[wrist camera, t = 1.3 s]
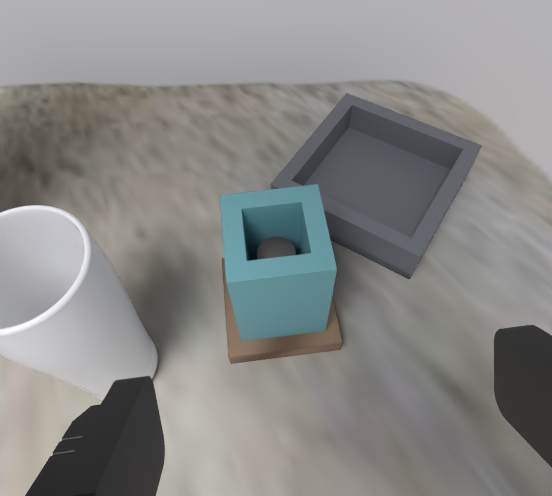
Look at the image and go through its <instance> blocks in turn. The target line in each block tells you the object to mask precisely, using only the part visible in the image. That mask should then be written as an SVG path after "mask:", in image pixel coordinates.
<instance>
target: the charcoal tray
mask: <svg viewBox="0 0 552 496" xmlns="http://www.w3.org/2000/svg"><path fill="white" fill-rule="evenodd" d="M481 147H482V146H481V145H479V144H476V143H474V142H471V141H469V140H466V139H463V138H461V137H458V136H456V135H453V134H451V133H448V132H445V131H443V130H440V129H438V128H435V127H433V126H430V125H427V124H425V123H422V122H420V121H417V120H414V119H412V118H409V117H407V116H404V115H402V114H399V113H396V112H394V111H391V110H389V109H386V108H384V107H381V106H378V105H376V104H373V103H371V102H368V101H366V100H363V99H360V98H358V97H355V96H353V95H350V94H348V93H346V95H345V96H344V97H343V98H342V99H341V101H340V102H339V103H338V104H337V106H336V107H335V108H334V109H333V110H332V112H331V113H330V114H329V115H328V116H327V118H326V119H325V120H324V121H323V122H322V124H321V125H320V126H319V127H318V128H317V130H316V131H315V132H314V133H313V134H312V136H311V137H310V138H309V139H308V140H307V142H306V143H305V144H304V145H303V146H302V148H301V149H300V150H299V151H298V152H297V154H296V155H295V156H294V157H293V158H292V160H291V161H290V162H289V163H288V164H287V166H286V167H285V168H284V169H283V170H282V172H281V173H280V174H279V175H278V176H277V178H276V179H275V180H274V181H273V182H272V184H271V189H280V188H289V187H298V186H307V185H315V184H318V187H319V191H320V196H321V200H322V205H323V209H324V213H325V218H326V222H327V227H328V231H329V236H330V239H331V240H333V241H335V242H337V243H339V244H341V245H343V246H345V247H347V248H349V249H351V250H353V251H355V252H357V253H359V254H361V255H362V256H364V257H366V258H368V259H370V260H372V261H374V262H376V263H378V264H380V265H382V266H384V267H386V268H388V269H390V270H392V271H394V272H396V273H398V274H400V275H402V276H404V277H406V278H408V279H410V277H411V276H412V274H413V272H414V270H415V268H416V266H417V265H418V263H419V261H420V259H421V257H422V256H423V254H424V252H425V250H426V248H427V247H428V245H429V243H430V241H431V239H432V237H433V236H434V234H435V232H436V230H437V228H438V227H439V225H440V223H441V221H442V219H443V218H444V216H445V214H446V212H447V210H448V208H449V207H450V205H451V203H452V201H453V199H454V198H455V196H456V194H457V192H458V190H459V189H460V187H461V185H462V183H463V181H464V179H465V178H466V176H467V174H468V172H469V170H470V168H471V166H472V164H473V162H474V160H475V158H476V156H477V155H478V153H479V151H480V149H481Z"/></svg>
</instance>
